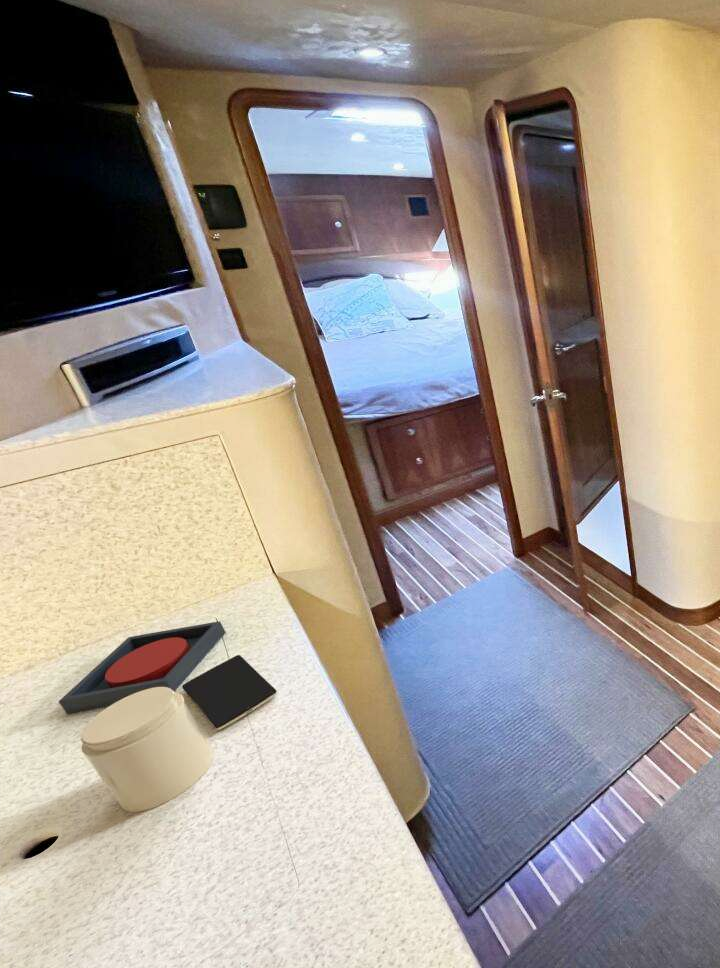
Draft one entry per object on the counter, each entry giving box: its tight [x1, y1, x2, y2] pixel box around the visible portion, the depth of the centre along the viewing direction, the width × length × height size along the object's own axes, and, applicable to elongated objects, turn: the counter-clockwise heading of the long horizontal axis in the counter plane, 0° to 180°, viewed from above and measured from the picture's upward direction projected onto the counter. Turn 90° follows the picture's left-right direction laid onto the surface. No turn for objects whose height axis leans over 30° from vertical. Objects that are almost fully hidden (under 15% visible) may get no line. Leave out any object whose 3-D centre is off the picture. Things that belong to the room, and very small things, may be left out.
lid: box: [105, 637, 191, 688], centre depth 87 cm, size 10×10×2 cm
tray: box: [58, 620, 227, 715], centre depth 87 cm, size 14×14×3 cm
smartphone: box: [182, 654, 278, 731], centre depth 82 cm, size 7×1×15 cm
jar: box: [80, 687, 215, 813], centre depth 68 cm, size 9×9×12 cm
